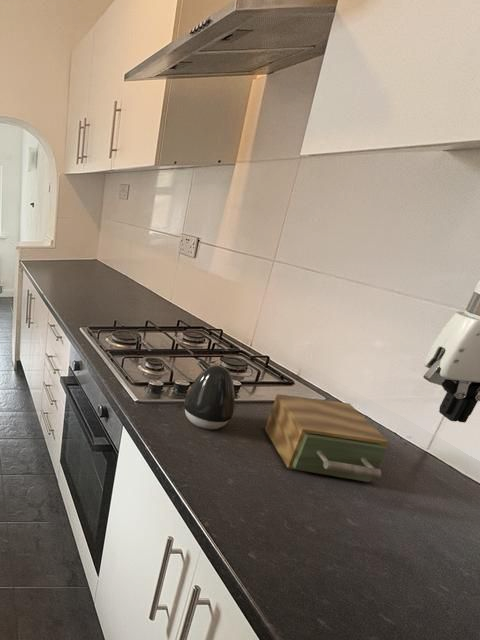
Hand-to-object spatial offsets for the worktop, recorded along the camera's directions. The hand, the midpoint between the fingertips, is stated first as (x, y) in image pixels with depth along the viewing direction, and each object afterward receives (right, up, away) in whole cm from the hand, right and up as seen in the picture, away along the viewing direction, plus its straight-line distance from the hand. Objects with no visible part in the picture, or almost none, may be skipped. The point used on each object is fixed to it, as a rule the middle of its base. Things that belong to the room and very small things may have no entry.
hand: (451, 417), depth 67 cm
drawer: (-5, -12, +18) cm, 22 cm away
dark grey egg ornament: (-21, -7, +33) cm, 40 cm away
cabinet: (-4, -11, +22) cm, 25 cm away
